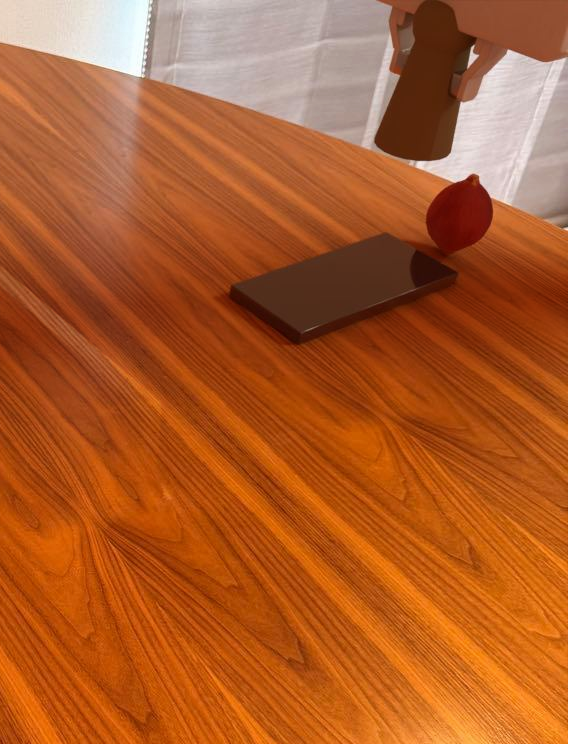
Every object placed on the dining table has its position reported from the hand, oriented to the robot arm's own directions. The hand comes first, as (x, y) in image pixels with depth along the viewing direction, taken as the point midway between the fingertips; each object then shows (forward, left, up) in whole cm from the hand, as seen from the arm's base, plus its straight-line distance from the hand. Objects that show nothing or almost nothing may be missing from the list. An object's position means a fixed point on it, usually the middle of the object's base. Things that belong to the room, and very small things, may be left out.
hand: (430, 85), depth 75 cm
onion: (-14, -2, -19) cm, 23 cm away
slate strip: (0, -2, -19) cm, 19 cm away
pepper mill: (0, 0, -5) cm, 5 cm away
